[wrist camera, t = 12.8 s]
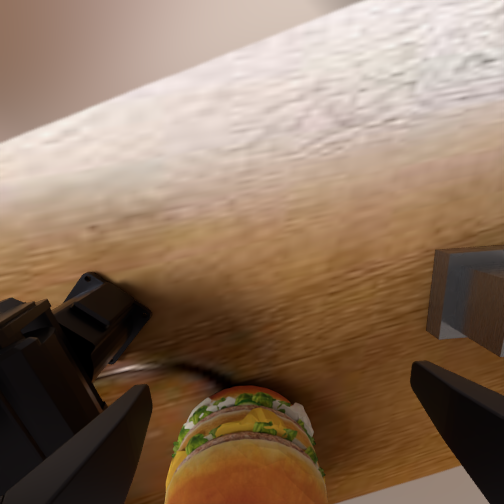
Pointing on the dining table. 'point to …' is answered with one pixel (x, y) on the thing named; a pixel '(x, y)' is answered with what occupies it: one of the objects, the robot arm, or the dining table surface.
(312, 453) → the burger
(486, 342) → the sleeve stand
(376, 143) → the dining table surface
